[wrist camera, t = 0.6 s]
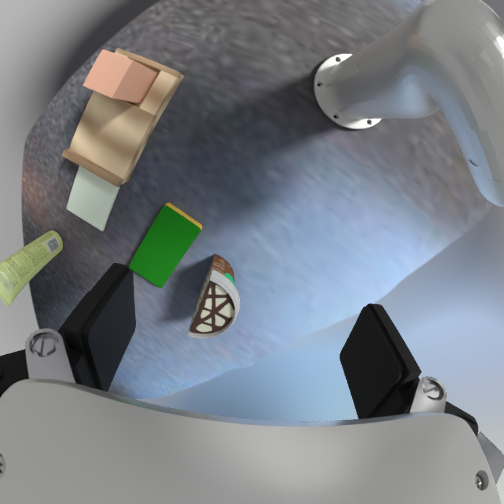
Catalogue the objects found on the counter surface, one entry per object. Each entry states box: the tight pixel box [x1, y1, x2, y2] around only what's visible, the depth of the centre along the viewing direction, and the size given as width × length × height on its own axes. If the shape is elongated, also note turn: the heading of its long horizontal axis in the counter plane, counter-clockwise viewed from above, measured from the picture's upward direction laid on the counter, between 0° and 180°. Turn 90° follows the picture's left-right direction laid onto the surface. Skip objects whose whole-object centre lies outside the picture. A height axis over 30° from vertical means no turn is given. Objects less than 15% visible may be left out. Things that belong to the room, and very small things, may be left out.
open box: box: [62, 48, 185, 187], centre depth 34 cm, size 19×12×4 cm, turn 148°
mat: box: [66, 166, 121, 231], centre depth 41 cm, size 9×9×1 cm
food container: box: [188, 254, 240, 338], centre depth 44 cm, size 12×6×10 cm, turn 157°
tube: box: [0, 231, 63, 307], centre depth 36 cm, size 6×5×20 cm
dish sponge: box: [129, 203, 202, 288], centre depth 45 cm, size 7×14×2 cm, turn 143°
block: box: [83, 49, 159, 104], centre depth 28 cm, size 5×5×10 cm
